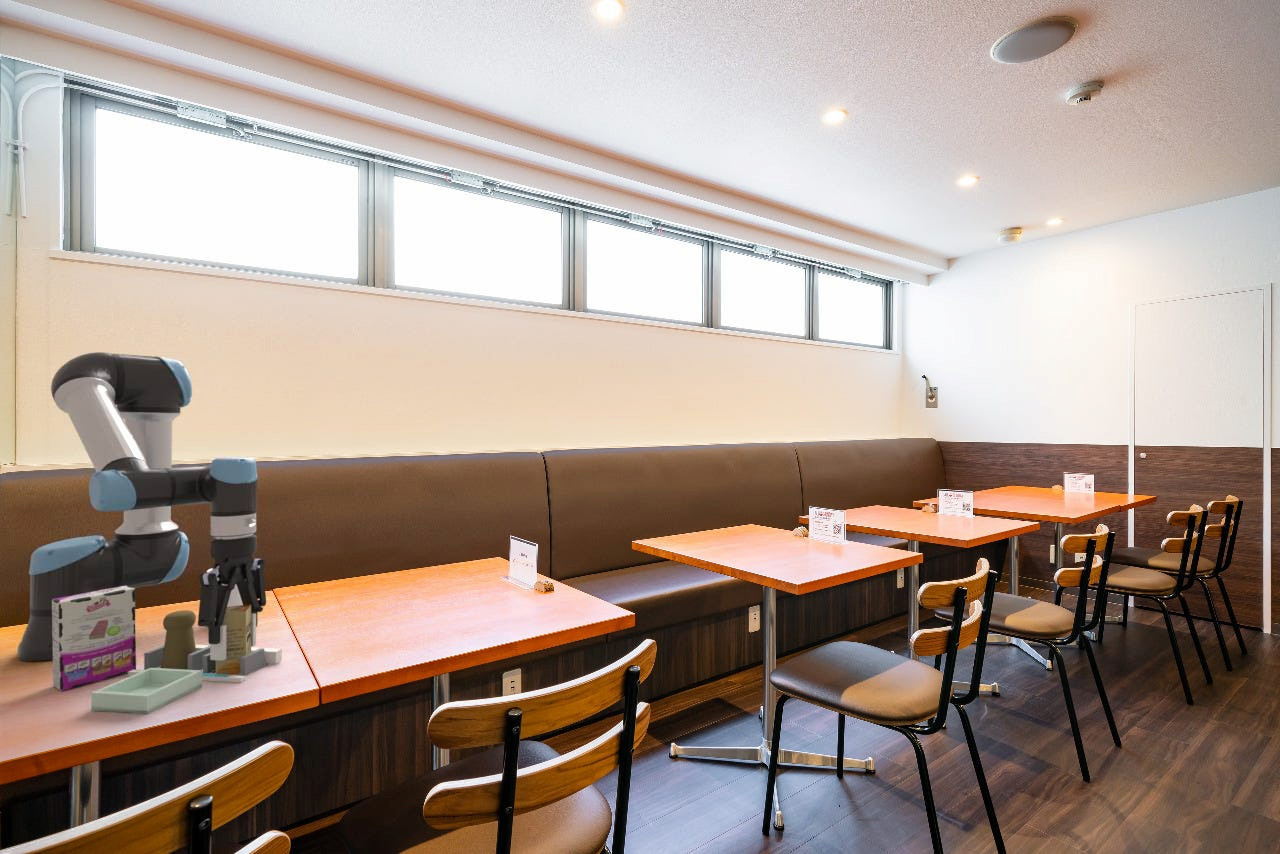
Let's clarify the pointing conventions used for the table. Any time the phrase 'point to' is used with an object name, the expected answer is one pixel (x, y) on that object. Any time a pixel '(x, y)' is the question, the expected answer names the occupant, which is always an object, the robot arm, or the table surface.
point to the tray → (146, 690)
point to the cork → (178, 639)
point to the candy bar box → (93, 637)
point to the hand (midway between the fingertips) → (233, 652)
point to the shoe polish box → (236, 638)
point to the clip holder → (202, 660)
